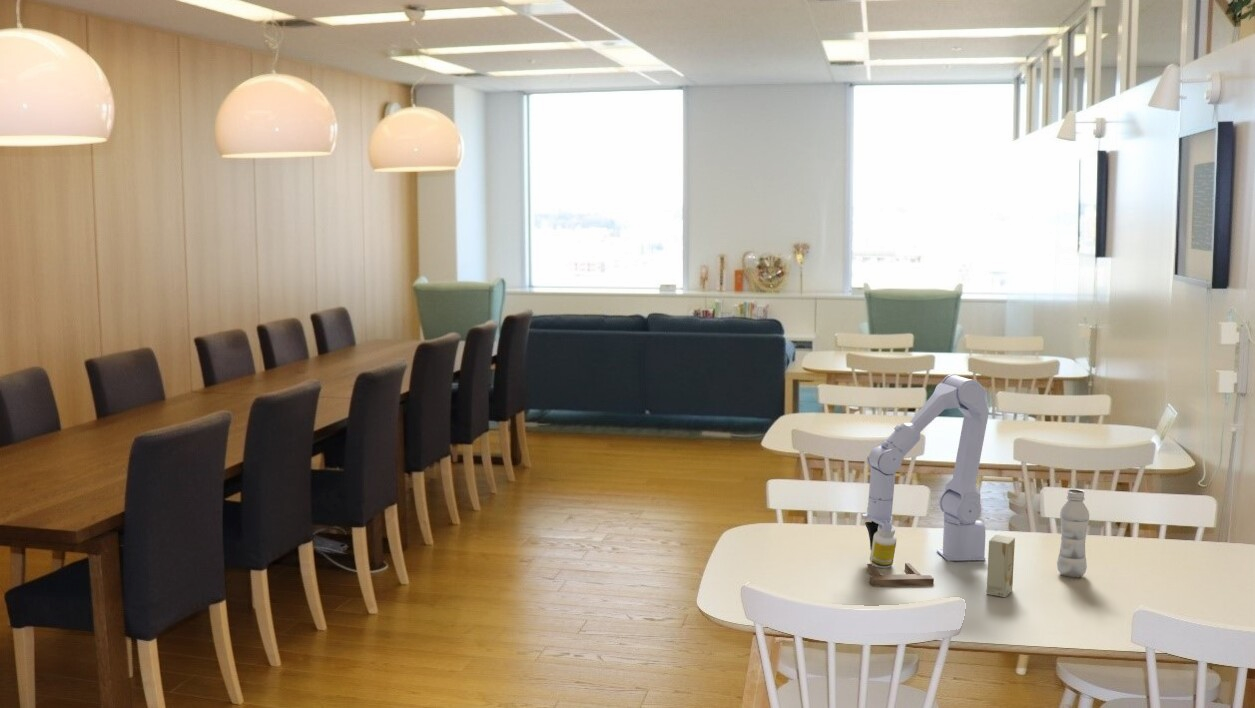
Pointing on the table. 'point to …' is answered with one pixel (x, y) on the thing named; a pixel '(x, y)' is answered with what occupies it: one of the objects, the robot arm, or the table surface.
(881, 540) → the supplement bottle
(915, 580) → the wooden bracket frame
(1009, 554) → the skincare box
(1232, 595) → the table surface
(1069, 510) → the plastic bottle
